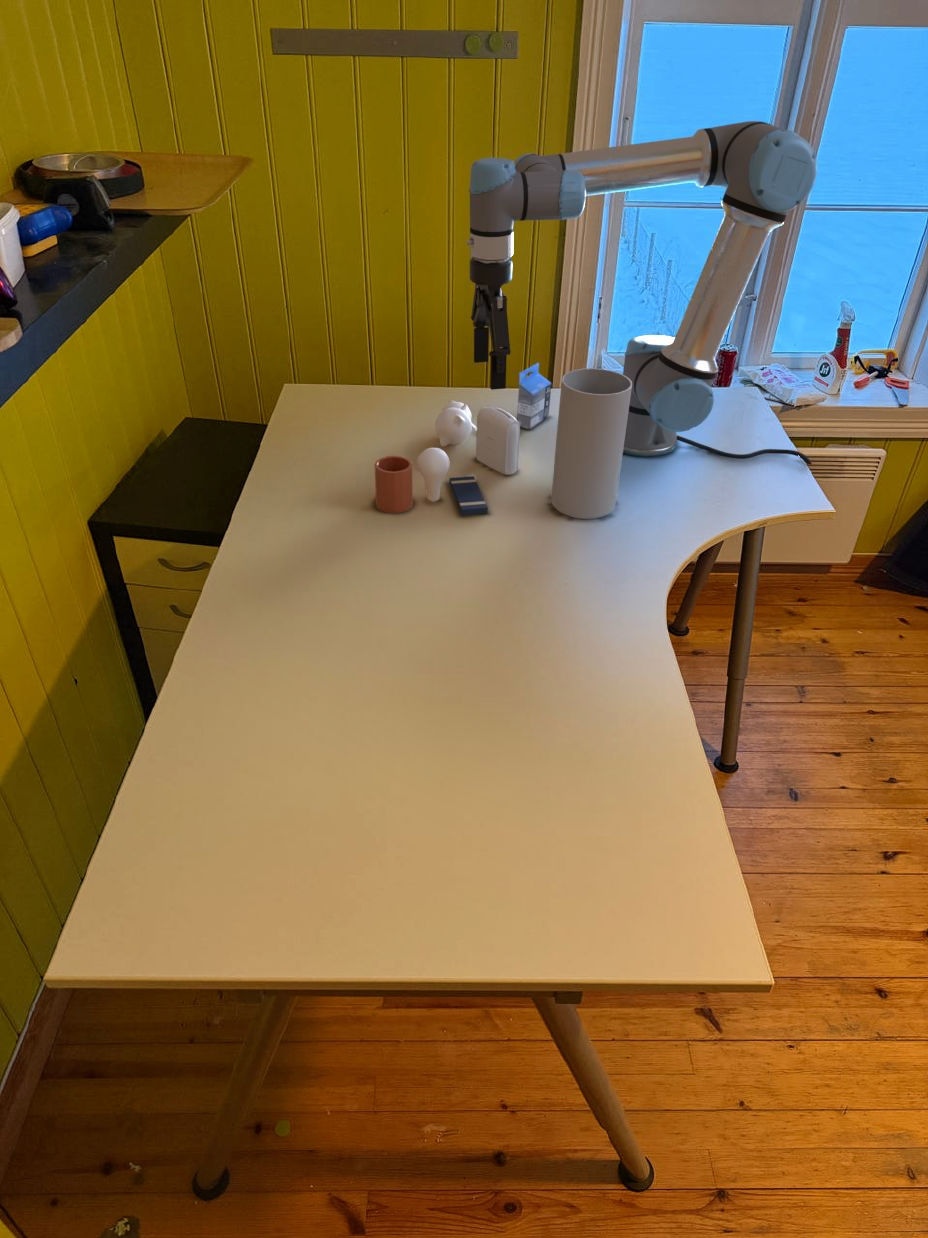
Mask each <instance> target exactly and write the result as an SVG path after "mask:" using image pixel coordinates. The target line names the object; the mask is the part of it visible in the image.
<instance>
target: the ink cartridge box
mask: <svg viewBox="0 0 928 1238" xmlns="http://www.w3.org/2000/svg"><path fill="white" fill-rule="evenodd" d="M539 366H540V362H537V363H535V364H533V365H531V366H529V367H528V368H526V369H524V370H522V371H520V372H519V373H518V397H517V410H516V420H517V421H518V422H519V425H520V428H523V429H526V430H532V429H533V428H534V427H536V426H537V425H539V424H540V423H542V422H543V421H545V420H546V419H548V418H549V415H550V406H551V405H550V404H551V392H552V382H551V381H550V380H548V379H547V378H545V377H544V376H543V375H542V374H541V373H540V372H539V370H540V369H539ZM529 373H530V374H529Z"/></svg>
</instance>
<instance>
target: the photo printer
mask: <svg viewBox="0 0 928 1238" xmlns="http://www.w3.org/2000/svg"><path fill="white" fill-rule="evenodd" d="M476 427H477V432H476V441H475V447H476V448H475V458H476V460H477V461H478V462H480V463H482V464H483V465H485V466H487V467H489V468H491V469H492V470H494V471H496V472H498V473H500V474H501V475H506V476H509V475H513V474H515V473H516V472H517V470H518V468H519V453H520V437H521V436H520V433H521V427H520V425H519V422H518V421H517V418H515V417H514V416H513V415H512V414H511V413H509V412H508V411H506V410H504V409H503V408H500V407H497V406H492V405H486V406H483V407H481V408H480V409H479V410H478V412H477V416H476Z"/></svg>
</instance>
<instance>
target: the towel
mask: <svg viewBox="0 0 928 1238" xmlns="http://www.w3.org/2000/svg"><path fill="white" fill-rule="evenodd" d="M448 479H449V480H448V481H449V483H448V484H449V487H450V489H451V492H452V494H453V497H454V500H455V502H456V505H457V507H458V510H459V512H460V515H461V517H465V516H466V517H467V516H478V515H488V513H489V507H488V505H487V503H486V501H485V498H484V496H483V494H482V491H481V489H480V487H479V485H478V482H477V480H476V477H475V476H474V475H470V476H455V477H449V478H448Z"/></svg>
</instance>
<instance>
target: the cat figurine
mask: <svg viewBox="0 0 928 1238" xmlns="http://www.w3.org/2000/svg"><path fill="white" fill-rule="evenodd" d="M448 402H449V403H448V404H446V405H445V406H444V407H443V408H442V410H441V412H440V413H439V414H437V417H436V419H435V424H434V428H435V433H436V435H437V436H438V438H439V444H440V446H441V447H445V446H448V445H460V444H461V443H463V442H465V441H467V440H468V438H469V437H470V435H471V433H472V431H474V432H475V433H477V425H475V424H474V423H473V422H472V412H471V410H470V408H469V407H468V403H466V402H465V403H463V402H460V401H455V400H453V399H449V400H448Z"/></svg>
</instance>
